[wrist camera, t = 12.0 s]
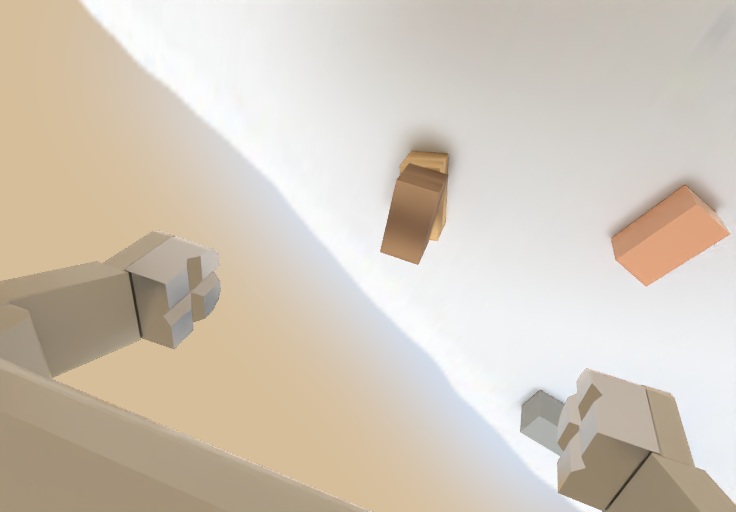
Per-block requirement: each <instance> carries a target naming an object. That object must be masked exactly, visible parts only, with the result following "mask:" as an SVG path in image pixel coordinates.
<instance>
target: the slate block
mask: <svg viewBox="0 0 736 512" xmlns="http://www.w3.org/2000/svg"><path fill="white" fill-rule="evenodd" d="M564 405H565V404H564V403H562V402H560V401H559V400H557V399H555V398H554V397H552V396H550V395H549V394H547V393H545V392H543V391H542V390H540V391H538V392H537V393H536V394H535V395H534V396H533V397H532V398H530V399H529V400H528V401H527V402H526V403H525V404H524V405H523V406H522V414H521V427H520V432H521V433H523V434H524V435H526V436H528V437H529V438H531V439H533V440H534V441H536V442H538V443H539V444H541V445H543V446H544V447H546V448H548V449H549V450H551V451H553V452H554V453H556V454H558V455H559V456H561V455H562V453H563V451H562V449H561V448H560V446H559V445H558V443H557V430H558V422H559V419H560V415H561V412H562V409H563V407H564Z"/></svg>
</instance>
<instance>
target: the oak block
mask: <svg viewBox="0 0 736 512" xmlns="http://www.w3.org/2000/svg"><path fill="white" fill-rule="evenodd" d="M409 163H411V164H415V165H418V166H421V167H425V168H428V169H431V170H434V171H438V172H441V173H444V174H448V154H445V153H429V152H413V151H411V152H410V153H409V155H408V156H407V157H406V159H405V160H404V161H403V162H402V164H401V165H400V175H401V173H402V172H403V171H404V169H405V168H406V167H407V165H408V164H409ZM446 199H447V181H446V184H445V188H444V191H443V195H442V198H441V201H440V205H439V208H438V211H437V215H436V218H435V222H434V225H433V228H432V232H431V235H430V238H429V240H433V241H438V239H439V237H440V234H441V232H442V230H443V227H444V225H445V222H446Z"/></svg>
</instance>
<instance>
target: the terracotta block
mask: <svg viewBox="0 0 736 512" xmlns="http://www.w3.org/2000/svg"><path fill="white" fill-rule="evenodd" d="M728 235H730V233H729V231H728V230H727V229H726V227H725V226H724V224H723V223H722V221H721V220H720V218H719V217H718V215H717V214H716V212H715V211H713V210H712V209H711V208H710V207H709V206H708V205H707V204H706V203H705V202H704V201H702V200H701V199H700V198H699V197H698V196H697V195H696V194H695V193H694V192H692V191H691V190H690V189H689V188H688V187H687V186H686V185H684V186H683V187H681V188H680V189H679V190H677V191H676V192H674V193H673V194H672V195H670V196H669V197H667V198H666V199H665V200H663V201H662V202H661V203H659V204H658V205H656V206H655V207H654V208H652V209H651V210H650V211H648V212H647V213H645V214H644V215H643V216H641V217H640V218H639V219H637V220H636V221H634V222H633V223H632V224H630V225H629V226H627V227H626V228H625V229H623V230H622V231H621V232H619V233H618V234H616V235H615V236H614V237H612V238H611V241H612V246H613V250H614V255H615V259H616V261H617V262H618V263H620V264H621V265H622V266H623V267H624V268H625V269H626V270H628V271H629V272H630V273H631V274H632V275H633V276H635V277H636V278H637V279H638V280H639V281H640V282H641V283H643V284H644V285H645V286H648V285H650V284H651V283H653V282H654V281H656V280H658V279H659V278H661V277H662V276H664V275H666V274H667V273H669V272H670V271H672V270H674V269H675V268H677V267H678V266H680V265H682V264H683V263H685V262H686V261H688V260H690V259H691V258H693V257H694V256H696V255H698V254H699V253H701V252H702V251H704V250H706V249H707V248H709V247H710V246H712V245H714V244H715V243H717V242H719V241H720V240H722V239H723V238H725V237H727V236H728Z"/></svg>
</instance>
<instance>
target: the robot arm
mask: <svg viewBox="0 0 736 512" xmlns="http://www.w3.org/2000/svg"><path fill="white" fill-rule="evenodd" d="M218 266H219V256H218V253H217V252H216V251H215V250H214V249H212V248H209V247H206V246H203V245H200V244H198V243H195V242H192V241H189V240H186V239H183V238H180V237H176V236H174V235H171V234H168V233H165V232H162V231H152V232H150V233H149V234H147V235H146V236H144V237H143V238H141V239H139V240H138V241H136V242H135V243H133V244H132V245H130V246H128V247H127V248H125V249H124V250H122V251H121V252H119V253H117V254H116V255H114V256H113V257H111V258H110V259H108V260H107V261H105V262H103V263H100V262H97V261H96V262H91V263H86V264H81V265H76V266H71V267H66V268H62V269H57V270H53V271H48V272H42V273H37V274H33V275H28V276H23V277H18V278H13V279H9V280H4V281H0V512H372V511H370V510H367V509H365V508H362V507H360V506H357V505H355V504H353V503H350V502H348V501H345V500H343V499H341V498H338V497H336V496H333V495H331V494H328V493H326V492H324V491H321V490H319V489H316V488H314V487H312V486H309V485H307V484H304V483H302V482H300V481H297V480H295V479H292V478H290V477H288V476H285V475H283V474H280V473H278V472H275V471H273V470H271V469H268V468H266V467H263V466H260V465H258V464H256V463H253V462H251V461H249V460H247V459H244V458H241V457H239V456H237V455H234V454H232V453H229V452H227V451H225V450H222V449H220V448H218V447H215V446H213V445H210V444H208V443H206V442H203V441H201V440H198V439H196V438H193V437H191V436H189V435H186V434H184V433H181V432H179V431H177V430H174V429H172V428H169V427H167V426H164V425H162V424H160V423H157V422H155V421H152V420H150V419H147V418H145V417H143V416H140V415H138V414H135V413H133V412H131V411H128V410H126V409H123V408H121V407H118V406H116V405H113V404H111V403H109V402H106V401H104V400H101V399H99V398H97V397H94V396H92V395H89V394H87V393H85V392H82V391H80V390H77V389H75V388H72V387H70V386H68V385H65V384H63V383H60V382H58V381H56V380H53V379H52V378H53V377H55V376H58V375H60V374H62V373H65V372H67V371H69V370H72V369H74V368H76V367H79V366H81V365H83V364H86V363H88V362H90V361H92V360H95V359H97V358H100V357H102V356H104V355H107V354H109V353H111V352H114V351H116V350H118V349H121V348H123V347H125V346H127V345H130V344H132V343H134V342H137V341H139V340H141V338H143V339H146V340H149V341H151V342H154V343H157V344H160V345H163V346H166V347H169V348H172V349H175V348H176V347H177V346H178V345H179V344H180V343H181V342H182V341H183V340H184V339H185V338H186V337H187V336H188V335H189V334H190V333H191V332H192V331H193V322H196V321H199V320H202V319H204V318H206V317H207V316H208V315H209V314H210V313H211V312H212V311H213V309H214V307H215V305H216V303H217V301H218V299H219V295H220V289H221V288H220V280H219V278H218V277H217V275H216V274H215V272H214V271H215V270H216V268H217V267H218ZM557 443H558V445H559V446H560V448H561V449H562V451H563V453H562V455H561V457H560V459H559V460H558V462H557V467H558V493H560V494H562V495H565V496H567V497H570V498H572V499H574V500H577V501H579V502H582V503H584V504H587V505H589V506H592V507H594V508H597V509H599V510H602V511H604V512H736V505H735V504H734V503H733V502H732V500H731V499H730V498H729V497H728V496H727V495H726V494H725V493H724V492H723V491H722V489H721V488H720V487H719V486H718V485H717V484H716V483H715V482H714V481H713V480H712V478H711V477H710V476H709V475H708V474H707V473H706V472H705V471H704V470H702V469H699V468H696V467H695V465H694V462H693V458H692V455H691V452H690V448H689V445H688V442H687V438H686V435H685V431H684V428H683V425H682V421H681V418H680V415H679V411H678V408H677V405H676V401H675V398H674V397H673V396H672V395H671V394H670V393H668V392H664V391H661V390H658V389H654V388H651V387H647V386H644V385H638V384H635V383H632V382H629V381H626V380H622V379H619V378H616V377H613V376H610V375H607V374H603V373H600V372H597V371H594V370H591V369H587V368H586V369H585V370H584V371H583V372H582V374H581V375H580V377H579V379H578V381H577V394H575V395H572V396H570V397H568V399H567V401H566V403H565V405H564V407H563V409H562V412H561V415H560V419H559V422H558V430H557Z"/></svg>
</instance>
